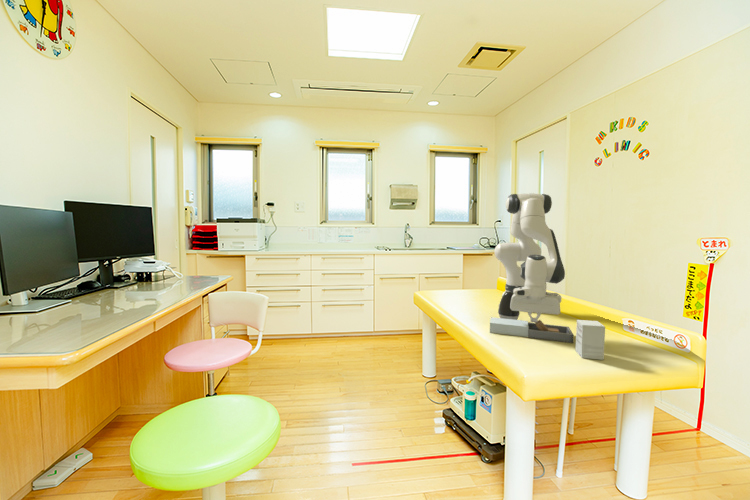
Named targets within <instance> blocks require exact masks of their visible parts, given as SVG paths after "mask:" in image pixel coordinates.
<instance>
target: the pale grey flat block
mask: <svg viewBox="0 0 750 500" xmlns="http://www.w3.org/2000/svg"><path fill="white" fill-rule="evenodd" d="M528 323H529V322H528V320H522V319H521V320H520V319H517V320H513V319H504V318H500V317H491V316H490V320H489V333H492V334H500V335H509V336H517V337H523V338H524V337H525V338H528V329H529V327H528Z"/></svg>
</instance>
